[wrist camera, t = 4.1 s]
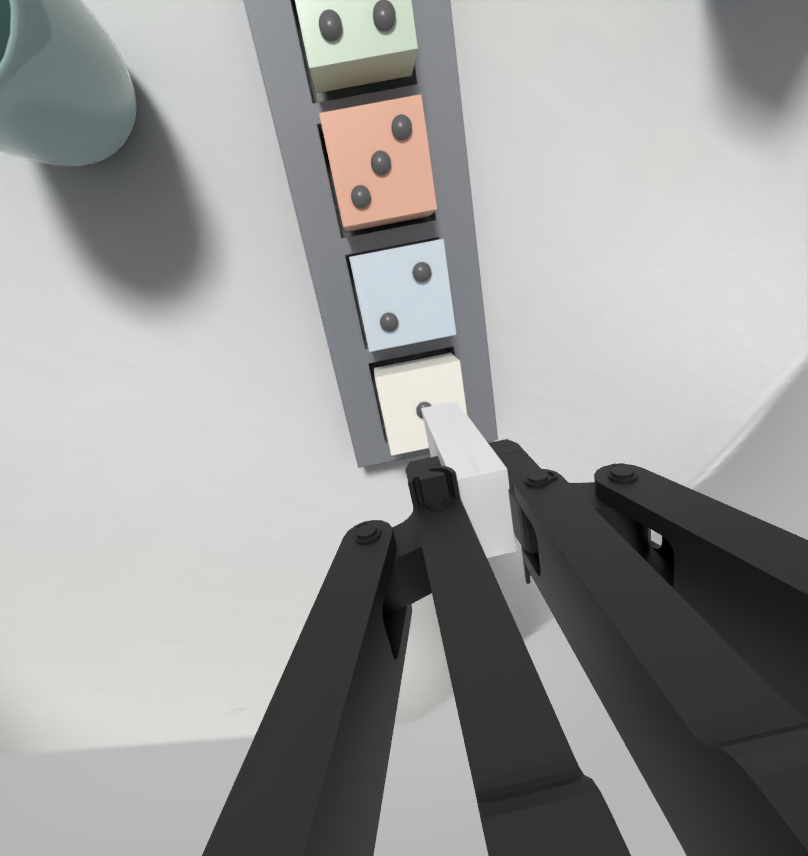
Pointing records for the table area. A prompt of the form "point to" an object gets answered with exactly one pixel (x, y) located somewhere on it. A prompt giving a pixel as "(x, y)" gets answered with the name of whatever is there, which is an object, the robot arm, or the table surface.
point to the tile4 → (357, 41)
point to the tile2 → (404, 294)
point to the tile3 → (380, 162)
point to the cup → (61, 84)
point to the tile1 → (416, 397)
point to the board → (330, 251)
